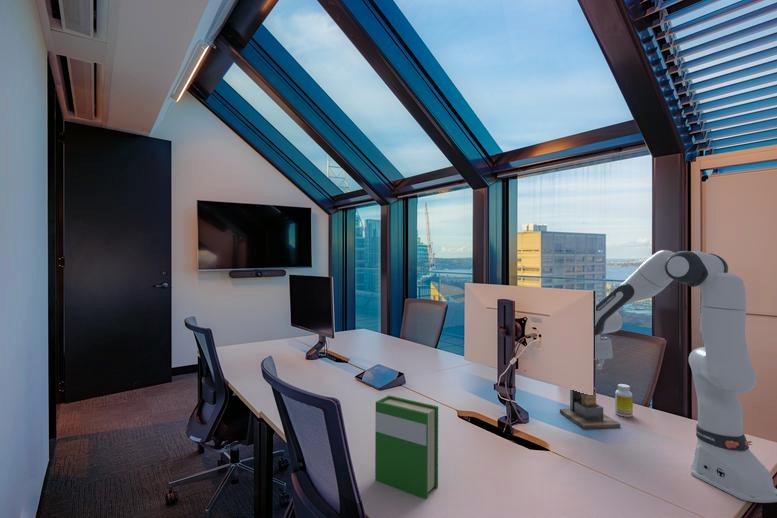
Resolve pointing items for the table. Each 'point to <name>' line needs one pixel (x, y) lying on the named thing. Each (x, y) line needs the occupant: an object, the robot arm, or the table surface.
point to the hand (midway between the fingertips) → (589, 369)
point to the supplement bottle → (623, 401)
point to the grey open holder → (583, 411)
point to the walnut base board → (590, 421)
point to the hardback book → (406, 445)
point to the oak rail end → (589, 400)
